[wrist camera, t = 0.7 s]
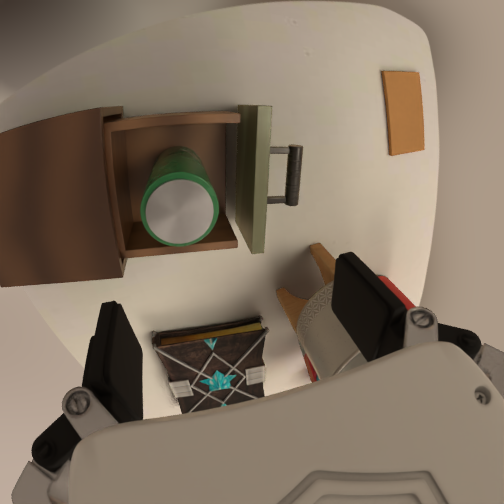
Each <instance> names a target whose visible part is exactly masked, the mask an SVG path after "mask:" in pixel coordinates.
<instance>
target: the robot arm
mask: <svg viewBox="0 0 504 504" xmlns="http://www.w3.org/2000/svg"><path fill="white" fill-rule="evenodd" d="M405 306H406V305H405V304H404V303H403V302H402V301H401V300H400V299H399V298H398V297H397V296H396V295H395V294H394V293H393V292H392V291H391V290H390V289H389V288H388V287H387V286H386V285H385V284H384V282H383V281H382V280H381V279H380V278H379V277H378V276H377V275H376V274H375V273H374V272H373V271H372V270H371V269H370V268H369V267H368V266H367V265H366V264H364V263H363V262H362V261H361V260H360V259H359V258H358V257H357V256H356V255H355V254H354V253H353V252H348V253H344V254H340V255H339V258H337V259H336V262H335V273H334V282H333V291H332V300H331V308H332V311H333V313H334V314H335V315H336V317H337V318H338V320H339V321H340V323H341V324H342V326H343V327H344V328H345V330H346V331H347V333H348V334H349V336H350V337H351V339H352V340H353V342H354V343H355V344H356V346H357V347H358V349H359V350H360V352H361V353H362V355H363V356H364V358H365V359H366V361H367V362H368V363H365V364H363V365H360V366H358V367H355V368H353V369H350V370H347V371H345V372H342V373H339V374H336V375H334V376H331V377H328V378H325V379H322V380H319V381H316V382H313V383H310V384H307V385H303V386H300V387H297V388H294V389H290V390H287V391H283V392H280V393H276V394H273V395H269V396H265V397H261V398H257V399H253V400H249V401H245V402H241V403H237V404H232V405H228V406H223V407H218V408H213V409H208V410H203V411H197V412H191V413H185V414H179V415H173V416H166V417H160V418H152V419H144V420H143V393H142V363H143V353H142V348H141V346H140V344H139V342H138V340H137V338H136V336H135V334H134V331H133V329H132V327H131V325H130V323H129V321H128V319H127V316H126V314H125V312H124V310H123V308H122V305H121V304H117V303H116V301H111V302H105V303H102V305H101V309H100V313H99V318H98V322H97V327H96V331H95V336H92V337H91V339H90V343H89V348H88V353H87V358H86V364H85V370H84V375H83V382H82V387H76V388H73V389H71V390H70V391H68V392H67V393H66V395H65V396H64V398H63V401H62V410H63V412H64V413H63V414H62V415H61V416H60V417H59V418H58V419H57V420H56V421H55V422H54V423H52V424H51V425H50V426H49V427H48V428H47V429H46V430H45V431H44V432H43V433H42V434H41V435H40V436H39V437H38V438H37V439H36V440H35V441H34V443H33V445H32V457H33V460H32V462H30V461H28V463H27V465H26V466H25V468H24V470H23V472H22V474H21V476H20V477H19V479H18V481H17V483H16V485H15V487H14V489H13V492H12V502H13V504H504V352H502V351H500V350H498V349H496V348H494V347H492V346H490V345H488V344H486V343H484V345H481V341H480V339H479V337H478V336H477V335H476V334H475V333H473V332H472V331H469V330H466V329H461V328H457V327H452V326H448V325H444V324H440V323H438V321H437V317H436V316H435V314H434V313H433V312H432V311H430V310H429V309H427V308H424V307H413V308H411V309H409V310H407V308H406V307H405Z"/></svg>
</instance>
